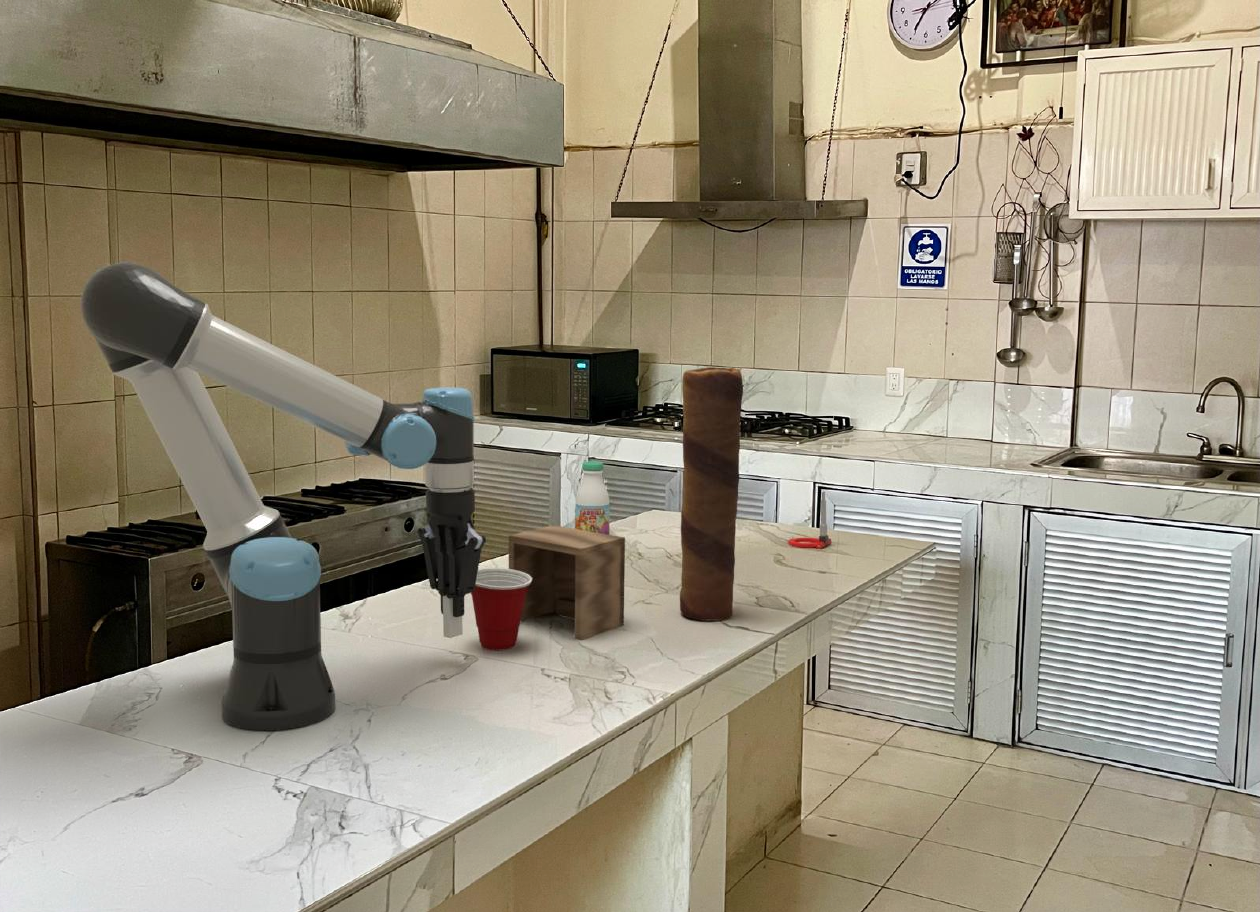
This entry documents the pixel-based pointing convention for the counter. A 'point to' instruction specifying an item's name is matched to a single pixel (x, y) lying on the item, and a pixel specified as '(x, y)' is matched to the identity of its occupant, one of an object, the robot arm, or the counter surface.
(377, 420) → the robot arm
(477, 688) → the counter surface
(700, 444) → the wafer roll
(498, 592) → the plastic cup
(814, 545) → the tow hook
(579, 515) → the milk bottle
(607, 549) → the open wooden crate
